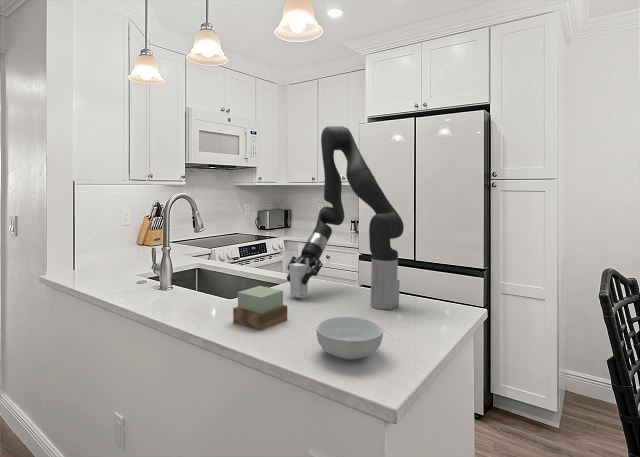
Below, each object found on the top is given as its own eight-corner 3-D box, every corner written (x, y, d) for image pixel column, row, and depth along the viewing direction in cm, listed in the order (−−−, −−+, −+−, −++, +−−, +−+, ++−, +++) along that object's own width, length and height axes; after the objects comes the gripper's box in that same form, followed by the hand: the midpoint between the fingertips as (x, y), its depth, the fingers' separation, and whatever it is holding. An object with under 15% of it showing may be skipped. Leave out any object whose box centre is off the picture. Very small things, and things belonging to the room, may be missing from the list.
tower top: (282, 305, 129) (282, 290, 128) (261, 313, 121) (261, 297, 120) (260, 300, 135) (259, 285, 134) (237, 307, 126) (237, 292, 126)
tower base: (287, 320, 129) (287, 305, 129) (260, 331, 120) (260, 315, 119) (260, 313, 136) (260, 299, 136) (233, 323, 127) (233, 308, 126)
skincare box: (308, 296, 152) (308, 264, 151) (298, 298, 149) (298, 266, 148) (298, 293, 157) (298, 262, 155) (289, 295, 154) (288, 263, 152)
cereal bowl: (308, 363, 98) (308, 335, 98) (325, 338, 114) (325, 314, 114) (377, 372, 94) (378, 343, 93) (385, 345, 110) (386, 319, 109)
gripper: (296, 239, 161) (276, 273, 153) (325, 242, 152) (306, 279, 144) (304, 251, 166) (286, 284, 158) (333, 254, 157) (315, 290, 149)
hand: (295, 281), depth 151 cm, fingers closed on skincare box, 6 cm apart
